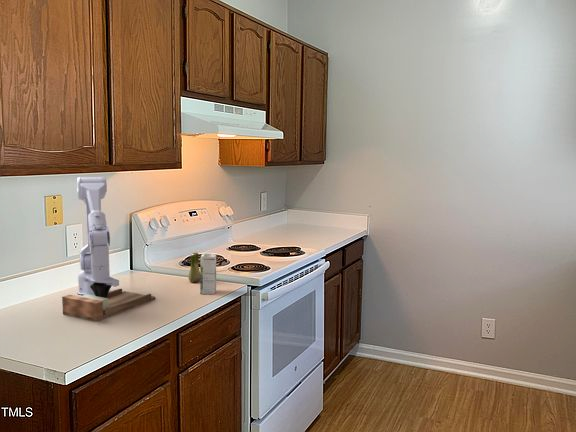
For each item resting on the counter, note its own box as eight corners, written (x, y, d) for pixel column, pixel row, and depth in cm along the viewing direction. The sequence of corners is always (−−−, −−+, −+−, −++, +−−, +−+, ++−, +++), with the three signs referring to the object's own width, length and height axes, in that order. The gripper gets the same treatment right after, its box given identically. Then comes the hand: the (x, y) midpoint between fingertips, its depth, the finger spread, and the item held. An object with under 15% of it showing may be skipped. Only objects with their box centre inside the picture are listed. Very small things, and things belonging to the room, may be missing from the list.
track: (63, 314, 178) (62, 296, 177) (124, 293, 202) (123, 278, 202) (96, 321, 171) (95, 303, 170) (155, 299, 196) (154, 283, 195)
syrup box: (201, 290, 208) (200, 253, 206) (216, 290, 209) (216, 253, 207) (200, 294, 202) (199, 256, 200) (215, 294, 203) (215, 256, 201)
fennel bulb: (192, 284, 217) (192, 255, 215) (185, 282, 220) (184, 253, 219) (203, 281, 221) (203, 253, 219) (196, 279, 224) (196, 251, 223)
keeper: (77, 308, 180) (76, 297, 179) (86, 305, 183) (86, 294, 183) (99, 313, 175) (99, 301, 175) (108, 310, 179) (108, 298, 178)
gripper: (75, 265, 180) (77, 304, 182) (107, 270, 174) (108, 310, 176) (91, 261, 187) (93, 299, 188) (123, 265, 180) (124, 305, 182)
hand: (101, 304), depth 183 cm, fingers closed, pressing on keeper
